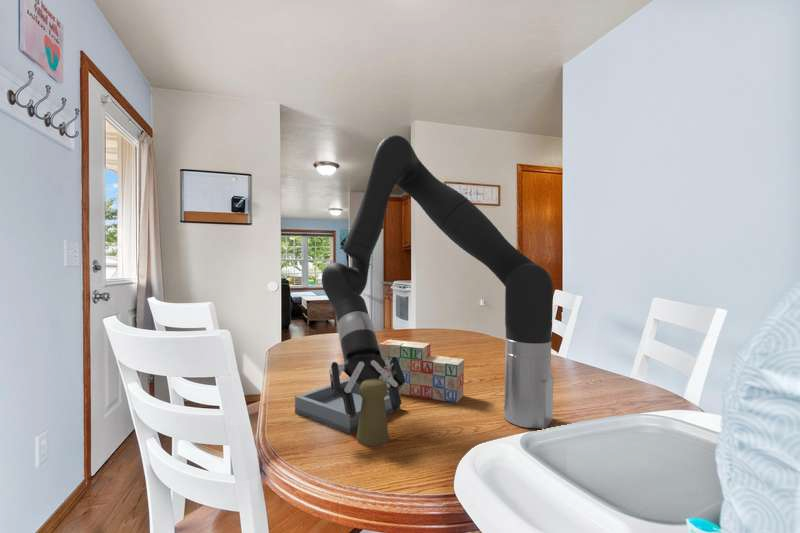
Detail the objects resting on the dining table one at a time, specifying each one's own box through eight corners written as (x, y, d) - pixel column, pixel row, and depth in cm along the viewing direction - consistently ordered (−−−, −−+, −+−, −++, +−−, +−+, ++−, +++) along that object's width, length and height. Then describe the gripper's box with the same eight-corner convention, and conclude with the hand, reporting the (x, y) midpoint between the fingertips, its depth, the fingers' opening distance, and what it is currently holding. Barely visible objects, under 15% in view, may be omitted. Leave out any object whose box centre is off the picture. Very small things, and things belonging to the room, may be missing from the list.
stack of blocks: (464, 395, 96) (465, 347, 96) (456, 404, 90) (457, 352, 90) (388, 383, 105) (388, 338, 105) (377, 389, 100) (378, 342, 99)
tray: (400, 408, 87) (400, 392, 87) (349, 433, 74) (349, 415, 74) (347, 392, 97) (347, 378, 97) (294, 412, 83) (295, 396, 83)
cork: (384, 448, 68) (385, 386, 68) (352, 444, 69) (353, 383, 69) (391, 433, 74) (392, 376, 74) (362, 430, 75) (362, 374, 75)
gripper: (327, 329, 76) (341, 408, 65) (394, 326, 81) (416, 397, 71) (321, 350, 80) (333, 426, 70) (384, 345, 86) (404, 415, 76)
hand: (375, 412), depth 71 cm, fingers open, 8 cm apart
